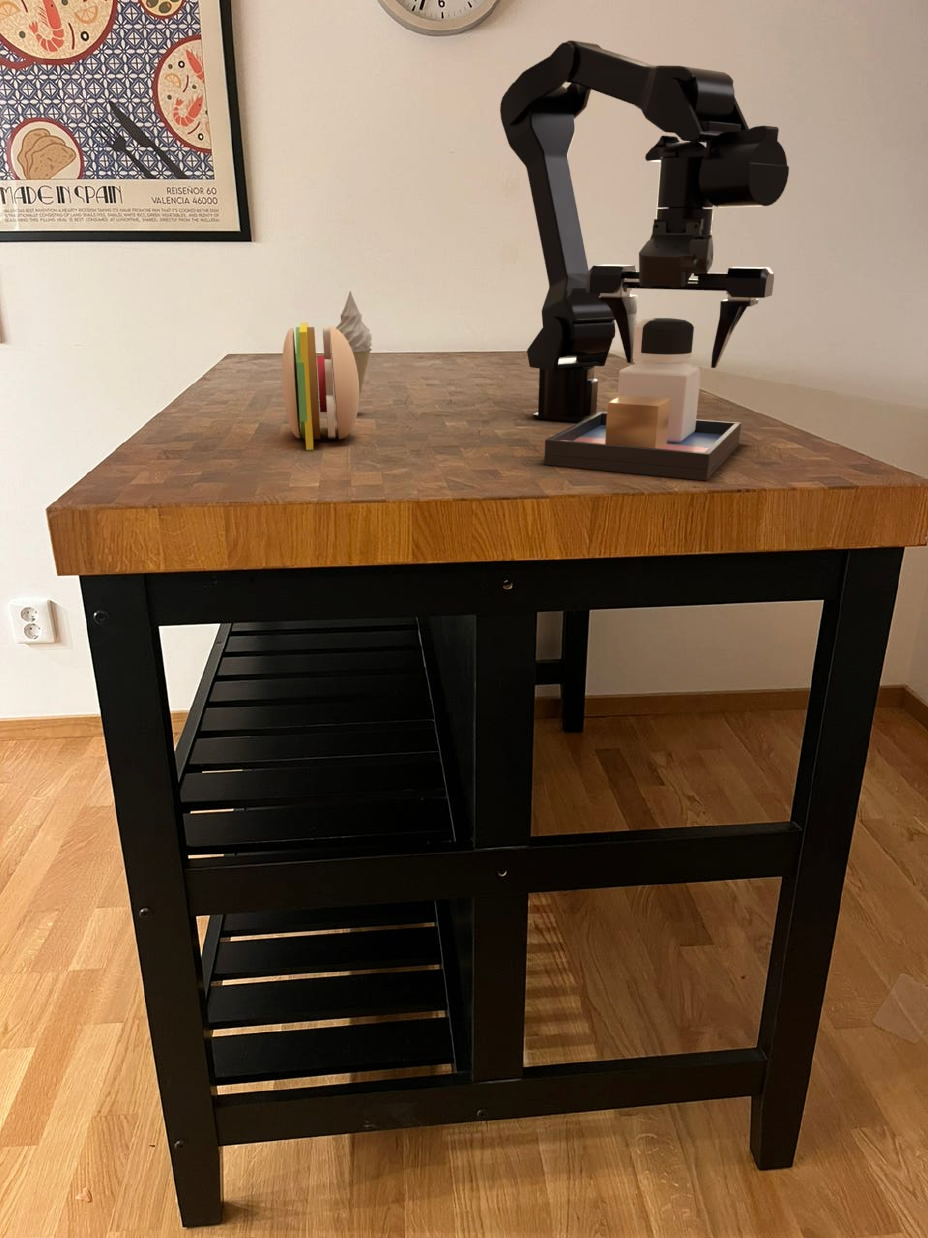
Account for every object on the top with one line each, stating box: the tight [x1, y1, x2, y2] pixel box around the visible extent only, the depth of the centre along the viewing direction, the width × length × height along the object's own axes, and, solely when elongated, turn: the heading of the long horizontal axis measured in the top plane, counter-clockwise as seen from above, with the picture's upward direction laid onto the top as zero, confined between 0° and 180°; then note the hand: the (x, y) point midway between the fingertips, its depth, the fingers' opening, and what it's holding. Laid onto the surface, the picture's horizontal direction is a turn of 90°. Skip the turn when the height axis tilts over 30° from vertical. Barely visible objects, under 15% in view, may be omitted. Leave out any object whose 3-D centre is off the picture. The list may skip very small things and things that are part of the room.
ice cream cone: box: [335, 290, 373, 400], centre depth 116 cm, size 5×5×15 cm
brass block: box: [605, 395, 671, 449], centre depth 92 cm, size 5×5×5 cm
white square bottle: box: [617, 317, 702, 443], centre depth 98 cm, size 7×7×12 cm
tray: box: [543, 411, 742, 481], centre depth 96 cm, size 16×18×2 cm
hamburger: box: [281, 322, 360, 451], centre depth 102 cm, size 12×8×12 cm
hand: (671, 365), depth 101 cm, fingers open, 9 cm apart
